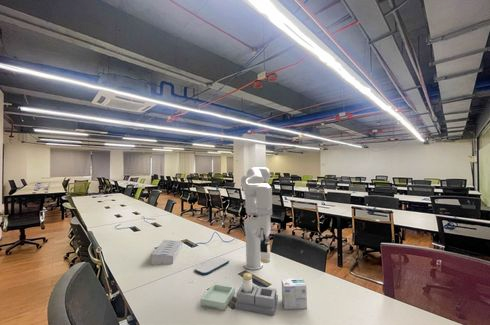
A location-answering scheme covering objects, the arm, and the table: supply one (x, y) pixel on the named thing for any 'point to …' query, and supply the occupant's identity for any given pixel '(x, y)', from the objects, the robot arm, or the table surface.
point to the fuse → (247, 283)
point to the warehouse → (166, 252)
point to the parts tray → (218, 297)
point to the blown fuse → (266, 256)
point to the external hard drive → (211, 265)
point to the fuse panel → (257, 300)
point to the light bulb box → (294, 293)
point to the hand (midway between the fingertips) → (265, 249)
